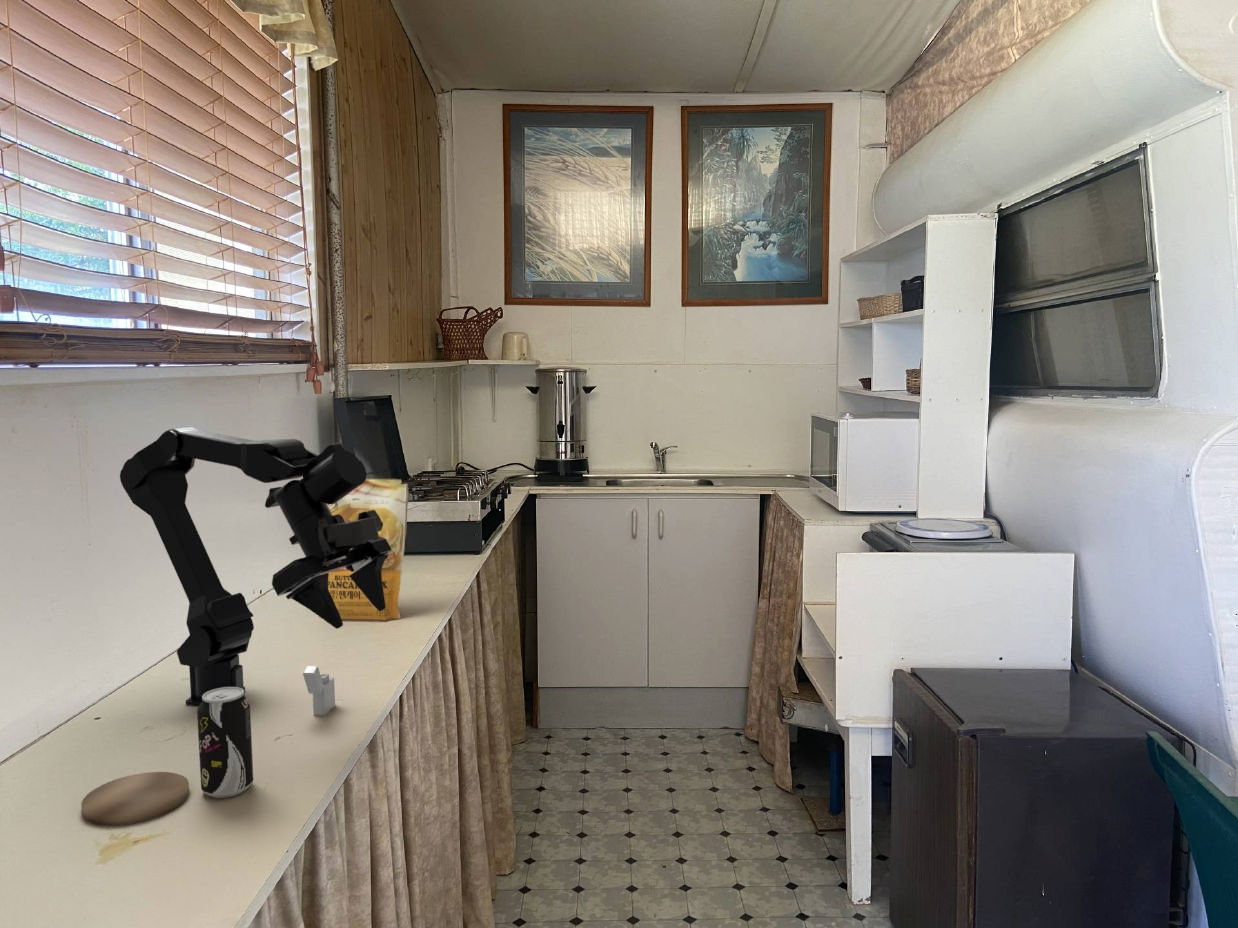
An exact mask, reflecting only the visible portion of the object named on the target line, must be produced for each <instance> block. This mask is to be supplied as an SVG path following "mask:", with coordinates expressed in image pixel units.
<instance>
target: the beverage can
mask: <svg viewBox="0 0 1238 928" xmlns="http://www.w3.org/2000/svg"><path fill="white" fill-rule="evenodd" d="M198 705H199V706H198V707H197V711H196V715H197V732H198V737H197V738H198V751H199V752H198V755H199V756H198V757H199V771H200V772H199V773H200V789H201V791H202V793H203V794H205V795H207V796H210V797H212V798H216V799H226V798H232V797H235V796H237V795H240V794H242V793H243V792H244V791H245V790H247V789H248V788H250V787H251V785H252V784H253V783H254V765H253V764H254V762H253V743H252V742H253V740H252V719H251V718H252V717H251V703H250V700H249V699H248V698H247V696H245V691H244V690H243V689H241V688H238V687H223V688H217V689H213V690H210V691H208V692H206V693H204V694H203V696H202V702H201V704H198Z"/></svg>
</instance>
